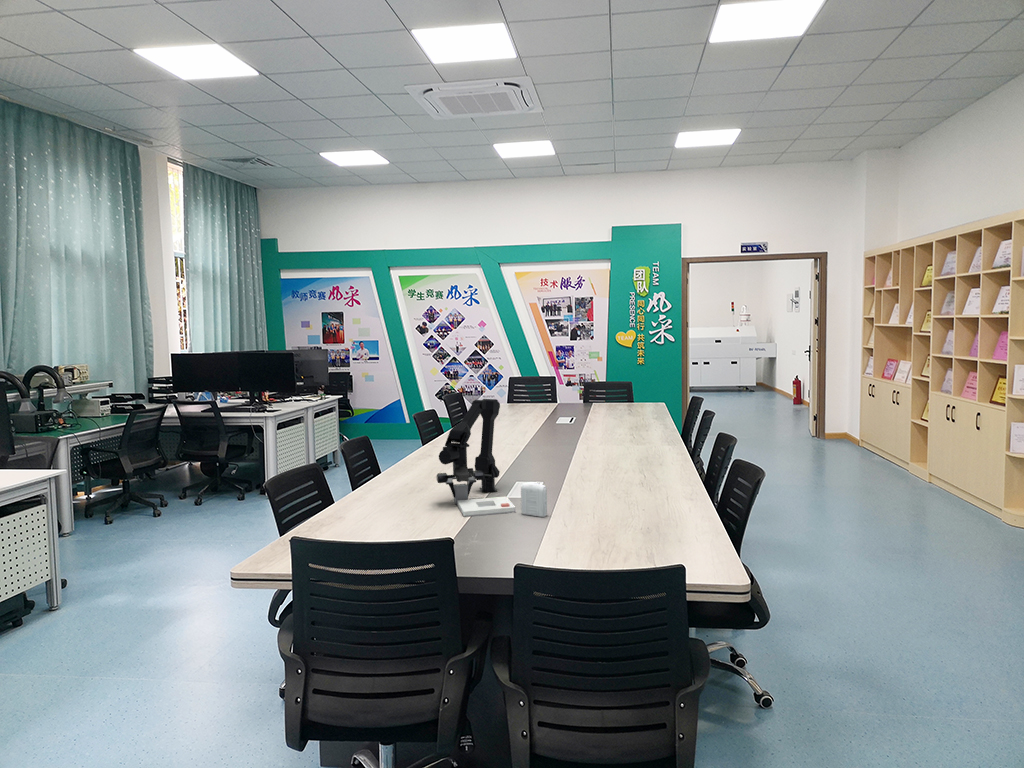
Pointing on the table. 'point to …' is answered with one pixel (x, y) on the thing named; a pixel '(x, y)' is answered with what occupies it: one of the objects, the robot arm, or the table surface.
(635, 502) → the table surface
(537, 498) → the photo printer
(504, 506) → the socket plate
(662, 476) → the table surface
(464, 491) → the plug
